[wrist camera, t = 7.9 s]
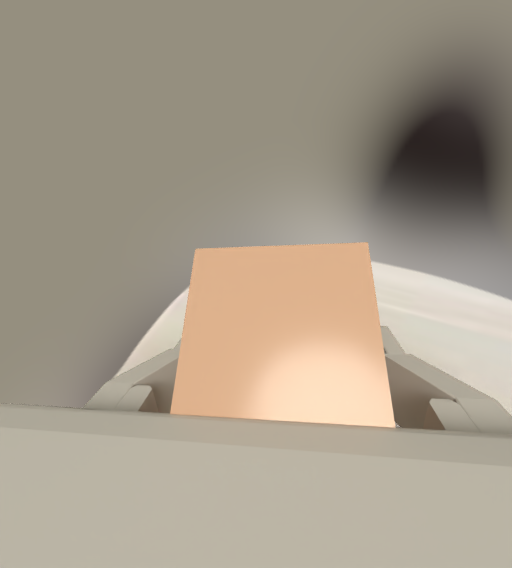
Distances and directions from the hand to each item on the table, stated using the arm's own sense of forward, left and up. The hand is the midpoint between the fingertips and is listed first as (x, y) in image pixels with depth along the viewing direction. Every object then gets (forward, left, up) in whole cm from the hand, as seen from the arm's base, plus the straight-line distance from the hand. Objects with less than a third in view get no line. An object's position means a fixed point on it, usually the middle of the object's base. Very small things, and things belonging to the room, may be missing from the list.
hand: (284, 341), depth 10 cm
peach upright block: (-1, 0, -5) cm, 5 cm away
